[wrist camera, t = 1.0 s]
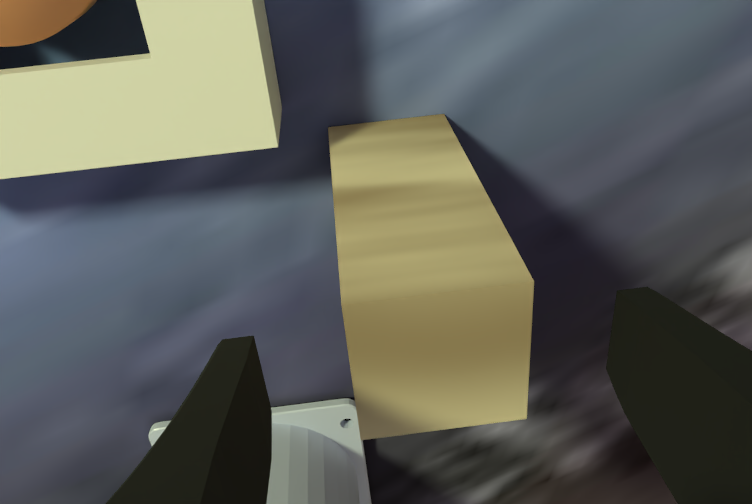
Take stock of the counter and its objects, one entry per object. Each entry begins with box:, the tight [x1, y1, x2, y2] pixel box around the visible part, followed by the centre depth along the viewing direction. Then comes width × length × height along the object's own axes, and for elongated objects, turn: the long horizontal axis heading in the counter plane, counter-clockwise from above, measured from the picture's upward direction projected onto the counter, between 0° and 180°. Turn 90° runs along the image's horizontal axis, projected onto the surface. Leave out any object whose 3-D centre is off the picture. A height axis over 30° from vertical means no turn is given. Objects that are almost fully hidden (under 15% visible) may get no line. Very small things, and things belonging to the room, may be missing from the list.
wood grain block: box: [328, 114, 534, 440], centre depth 16 cm, size 4×4×9 cm
